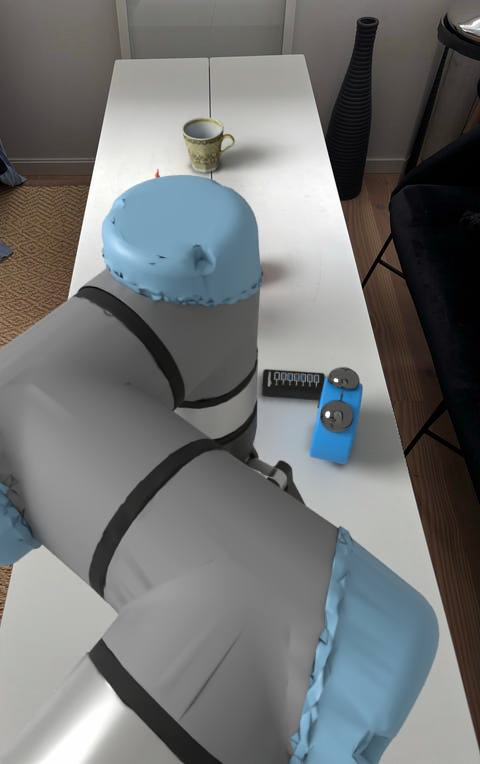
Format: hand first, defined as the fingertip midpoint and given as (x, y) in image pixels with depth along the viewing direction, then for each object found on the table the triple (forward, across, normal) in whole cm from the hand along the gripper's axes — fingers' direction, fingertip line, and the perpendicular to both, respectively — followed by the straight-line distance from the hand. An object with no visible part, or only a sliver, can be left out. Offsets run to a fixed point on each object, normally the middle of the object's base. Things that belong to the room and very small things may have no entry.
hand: (217, 516), depth 55 cm
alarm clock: (+29, 0, -30) cm, 42 cm away
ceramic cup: (+29, +64, -83) cm, 109 cm away
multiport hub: (+29, +11, -36) cm, 47 cm away
